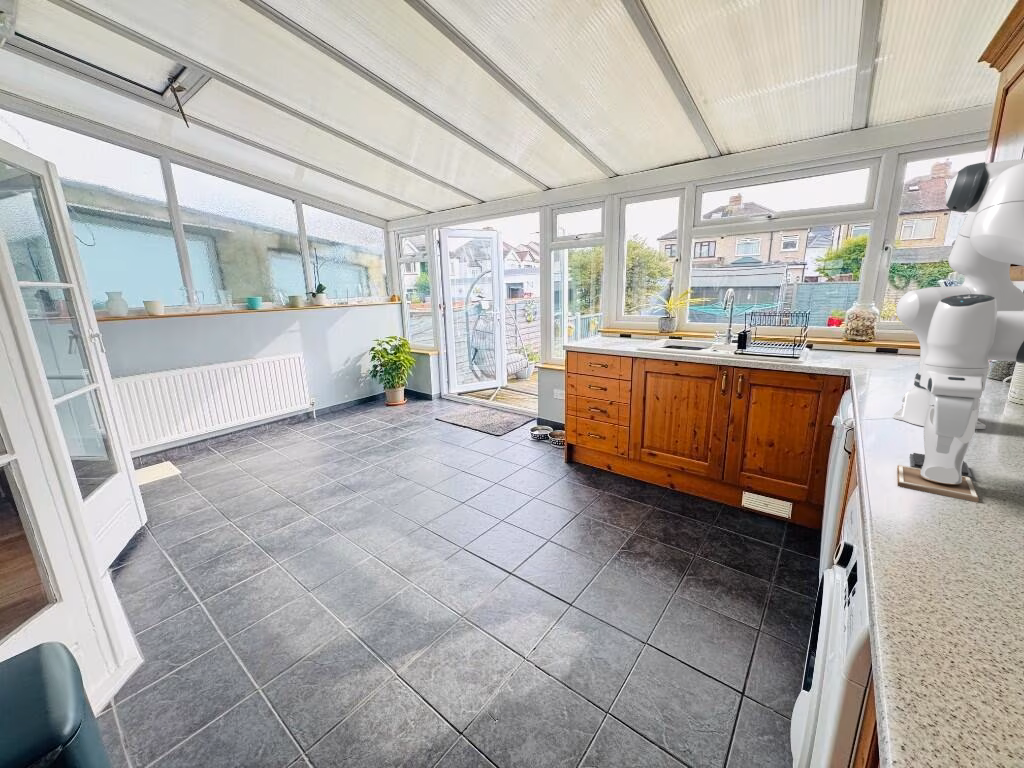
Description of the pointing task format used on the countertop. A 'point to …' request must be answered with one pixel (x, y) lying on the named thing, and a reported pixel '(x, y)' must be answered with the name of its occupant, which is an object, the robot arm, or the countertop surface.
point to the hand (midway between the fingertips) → (939, 445)
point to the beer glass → (941, 464)
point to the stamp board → (935, 484)
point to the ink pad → (918, 461)
